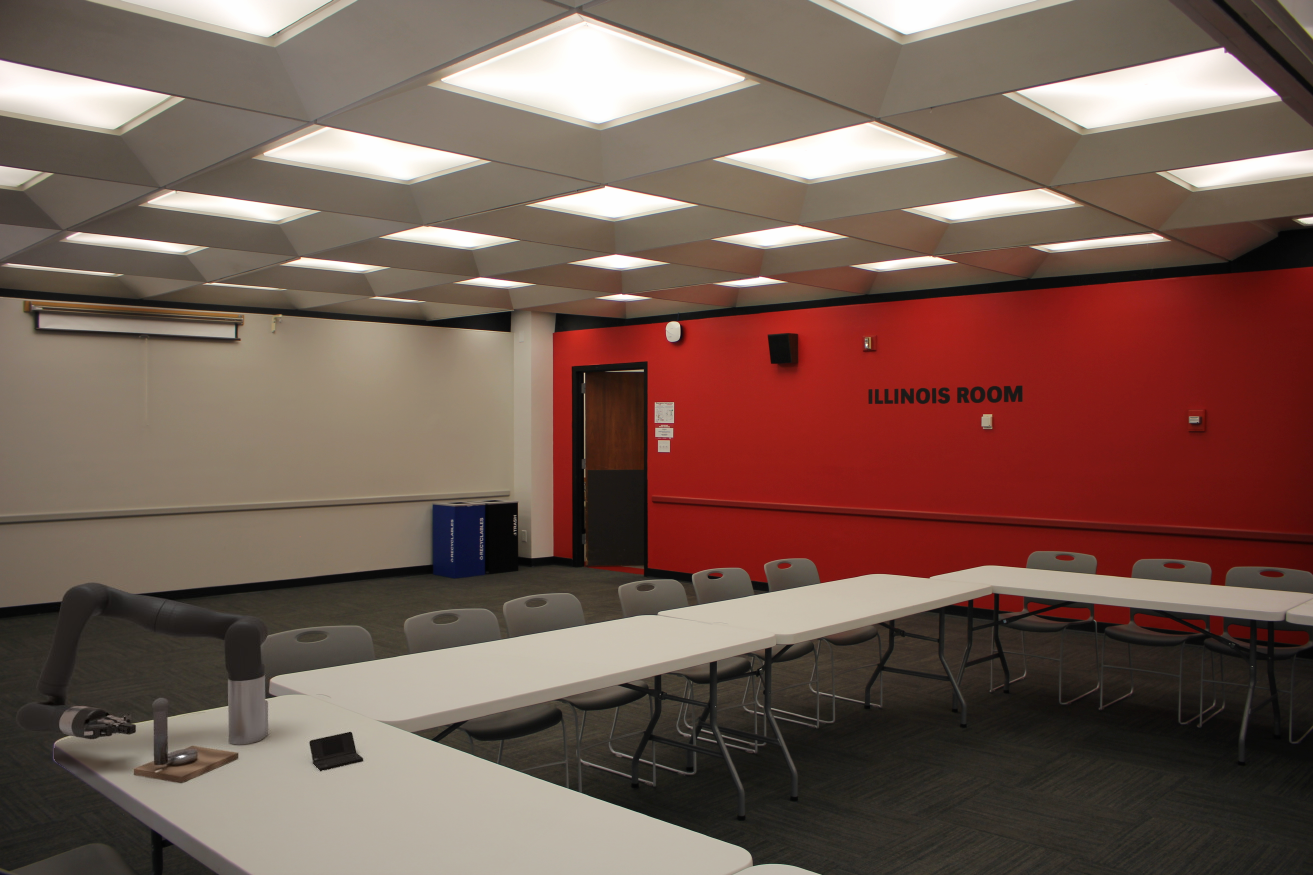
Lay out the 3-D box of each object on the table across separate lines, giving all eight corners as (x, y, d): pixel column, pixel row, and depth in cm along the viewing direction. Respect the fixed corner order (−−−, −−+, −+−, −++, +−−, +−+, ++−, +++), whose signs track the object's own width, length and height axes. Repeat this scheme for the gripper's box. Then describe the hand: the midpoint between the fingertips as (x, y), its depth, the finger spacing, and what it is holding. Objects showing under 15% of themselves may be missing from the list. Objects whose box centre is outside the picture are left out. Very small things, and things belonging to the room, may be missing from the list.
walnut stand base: (192, 751, 230) (192, 744, 230) (238, 758, 224) (238, 751, 224) (133, 774, 214) (133, 767, 214) (181, 782, 209) (181, 775, 209)
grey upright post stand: (185, 752, 223) (185, 686, 223) (203, 756, 220) (203, 690, 220) (144, 767, 214) (144, 698, 214) (163, 771, 211) (162, 701, 211)
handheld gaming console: (324, 767, 214) (317, 728, 219) (311, 779, 217) (305, 741, 222) (367, 761, 222) (359, 724, 227) (354, 773, 225) (347, 736, 230)
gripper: (59, 715, 218) (108, 722, 211) (108, 700, 230) (156, 706, 224) (59, 744, 217) (108, 753, 211) (108, 728, 230) (156, 735, 224)
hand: (133, 729), depth 218 cm, fingers closed
